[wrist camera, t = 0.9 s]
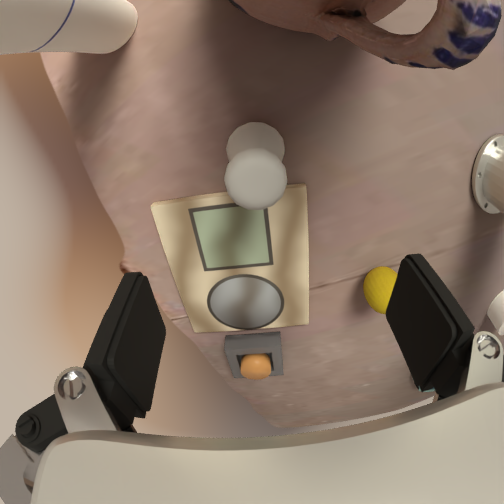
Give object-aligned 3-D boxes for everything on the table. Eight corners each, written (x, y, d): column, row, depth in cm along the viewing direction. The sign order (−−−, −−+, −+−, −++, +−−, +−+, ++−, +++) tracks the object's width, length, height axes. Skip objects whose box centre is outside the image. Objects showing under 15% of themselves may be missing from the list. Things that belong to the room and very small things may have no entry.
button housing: (279, 331, 45) (281, 345, 42) (282, 361, 50) (283, 374, 47) (225, 335, 46) (224, 349, 43) (234, 365, 51) (234, 378, 48)
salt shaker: (292, 151, 29) (316, 196, 18) (250, 179, 31) (247, 239, 20) (261, 108, 27) (265, 124, 16) (217, 139, 29) (193, 177, 18)
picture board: (304, 183, 31) (306, 187, 30) (307, 318, 43) (308, 324, 42) (153, 202, 33) (150, 206, 32) (195, 327, 45) (194, 333, 44)
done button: (269, 350, 44) (269, 362, 42) (271, 366, 47) (271, 378, 45) (238, 352, 45) (238, 364, 43) (243, 368, 47) (242, 380, 45)
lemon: (394, 276, 39) (415, 313, 32) (362, 291, 40) (378, 330, 34) (386, 249, 36) (409, 286, 29) (351, 266, 38) (369, 306, 31)
